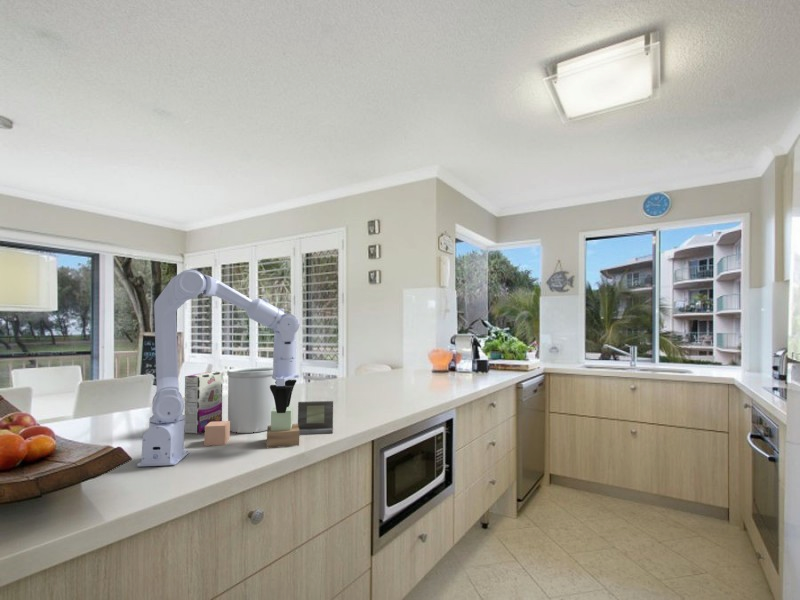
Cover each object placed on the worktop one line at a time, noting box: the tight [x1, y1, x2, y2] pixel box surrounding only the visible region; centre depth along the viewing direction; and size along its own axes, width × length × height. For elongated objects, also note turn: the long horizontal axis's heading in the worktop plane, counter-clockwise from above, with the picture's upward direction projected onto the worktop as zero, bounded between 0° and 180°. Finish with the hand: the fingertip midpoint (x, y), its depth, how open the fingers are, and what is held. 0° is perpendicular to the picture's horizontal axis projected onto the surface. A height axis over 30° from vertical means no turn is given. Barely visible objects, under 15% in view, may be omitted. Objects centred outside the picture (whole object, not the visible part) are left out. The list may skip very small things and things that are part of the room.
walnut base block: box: [266, 423, 300, 448], centre depth 109 cm, size 8×8×4 cm
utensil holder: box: [226, 366, 276, 434], centre depth 125 cm, size 15×15×18 cm
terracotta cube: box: [203, 420, 231, 447], centre depth 109 cm, size 5×5×5 cm
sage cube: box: [271, 406, 293, 431], centre depth 110 cm, size 5×5×5 cm
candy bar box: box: [184, 370, 224, 435], centre depth 123 cm, size 11×5×16 cm, turn 168°
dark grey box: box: [297, 400, 334, 435], centre depth 121 cm, size 6×10×8 cm, turn 99°
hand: (283, 409), depth 110 cm, fingers open, 7 cm apart
